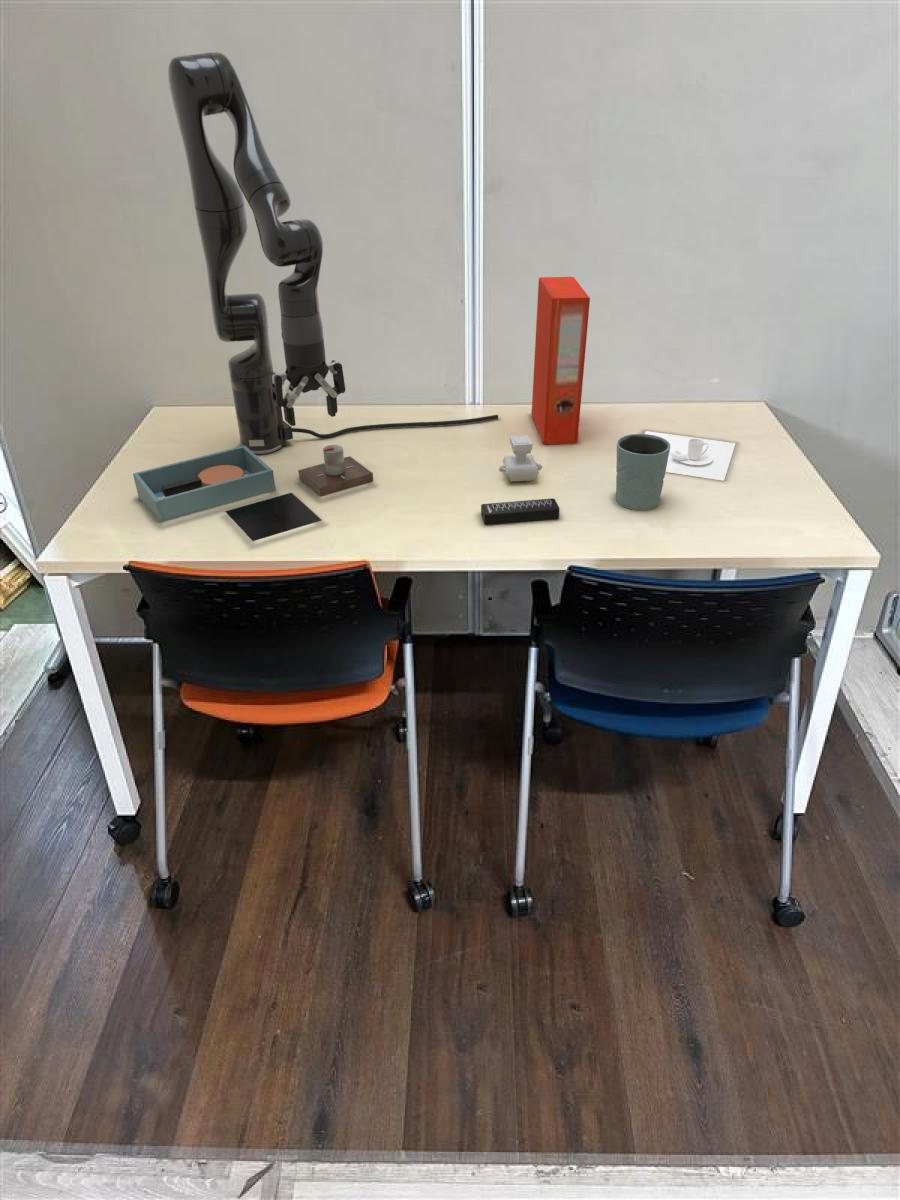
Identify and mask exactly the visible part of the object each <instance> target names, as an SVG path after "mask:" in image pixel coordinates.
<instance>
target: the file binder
mask: <svg viewBox="0 0 900 1200" xmlns="http://www.w3.org/2000/svg"><path fill="white" fill-rule="evenodd" d="M590 302H591V297H590V296H589V294H588V293H587V292H586V291H585V289H584V288H583V287H582V286H581V284H580V283H579V282H578V280H577V279H576V278H575V277H574V276H544V277H543V276H541V277H540V276H539V277H538V287H537V303H536V304H537V305H536V322H535V323H536V324H535V343H534V345H535V346H534V360H533V362H534V363H533V378H532V379H533V380H532V398H531V399H532V400H531V417H532V419H533V422H534V424H535V426H536V429H537V432H538V434H539V436H540V439H541V442H542V444H543V445H569V444H571V445H572V444H578V441H579V430H580V428H579V427H580V420H581V419H580V418H581V407H582V396H583V394H582V393H583V385H584V373H585V372H584V371H585V362H586V361H585V359H586V348H587V339H588V338H587V337H588V326H589V315H590Z"/></svg>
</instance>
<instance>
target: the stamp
mask: <svg viewBox="0 0 900 1200" xmlns="http://www.w3.org/2000/svg"><path fill="white" fill-rule="evenodd" d="M509 443H510V446H511V449H512V453H513V455H504V456H503V458H502V463H503V464H502V465H500V466H499V467H498V472H499V473H502V474H503V473H504V474H505V475H506V476H507V478H508V479H509V480H510V482H526V481H527V482H529V481H530V482H531V481H533V480H534V479H535V478H536V477H537V476H538V475H539V474H540V473H539V472H540V471H541V470H542V469H543V465H542V463H538V462H536V461H535V457H534V455H533V454H531V453H532V450H533V442H532V440H531V438H530V436H529V435H519V436H509Z"/></svg>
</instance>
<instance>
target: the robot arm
mask: <svg viewBox="0 0 900 1200" xmlns="http://www.w3.org/2000/svg"><path fill="white" fill-rule="evenodd" d="M167 77H168V85H169V90H170V97H171V100H172V104H173V109H174V113H175V115H176V120H177V124H178V128H179V132H180V136H181V140H182V144H183V148H184V152H185V157H186V162H187V163H186V164H187V168H188V173H189V179H190V186H191V192H192V198H193V205H194V211H195V217H196V222H197V226H198V227H197V228H198V231H199V236H200V241H201V245H202V251H203V256H204V258H205V259H204V260H205V265H206V273H207V279H208V288H209V296H210V297H209V298H210V304H211V305H210V306H211V313H212V319H213V325H214V329H215V332H216V335H217V337H218V340H220V341H221V342H224V343H235V342H236V343H237V342H254V343H253V344H251V346H249V347H248V348H247V349H245V350H243V351H241V352H239V353H237V354H235V355H233V356H232V357H230V358H229V360H228V364H227V365H228V366H227V367H228V373H229V378H230V385H231V392H232V398H233V403H234V409H235V410H234V411H235V415H236V421H237V429H238V433H239V441H240V447H241V446H246V447H247V448H248V449H250V450H251V451H252V452H253V453H254V454H255V455H265V454H270V453H274V452H277V451H278V450H280V449H281V448H282V447H286V446H287V441H290V440H294V436H293V433H301V434H308V435H312V436H313V437H315V438H318V439H331V438H335V437H337V436H341V435H343V434H345V433H346V434H347V433H351V432H356V431H364V430H375V429H376V430H377V429H389V428H408V427H409V428H410V427H433V426H434V427H435V426H451V425H462V424H463V425H464V424H472V423H480V422H485V421H490V420H491V421H492V420H496V419H499V415H498V414H492V415H487V416H481V417H472V418H467V419H454V420H440V421H438V420H437V421H416V422H415V421H414V422H393V423H380V424H379V423H378V424H367V425H358V426H351V427H346V428H342V429H339V430H337V431H334V432H330V433H318V432H316V431H314V430H311V429H309V428H308V429H307V428H298V427H295V426H296V415H295V408H294V404H295V403H296V400H297V399H299V397H300V395H301V394H302V393H303V394H305V393H306V394H307V393H308V392H310V391H318V390H319V389H322V390H323V391H324V393H325V394H327V395H326V396H325V398H326V409H327V411H326V412H327V414H328V416H330V417H331V418H333V417H336V416H337V415H336V414H337V413H338V396H339V395H340V394H345V392H346V384H345V376H344V370H343V369H344V368H343V364H342V363H340V362H339V361H337V360H336V359H333V360H331V362H329V363H327V362H326V349H325V339H324V337H325V336H324V330H323V329H324V327H323V321H322V317H321V311H320V303H319V292H318V291H319V290H318V289H319V288H318V287H319V280H320V274H321V267H322V260H323V254H324V253H323V252H324V242H323V241H324V240H323V236H322V233H321V231H320V229H319V227H318V226H317V224H316V223H315V222H314V221H313V220H311V219H309V218H298V219H294V220H287V221H282V222H281V221H280V219H279V218H281V217H282V216H284V215H285V214H286V213H287V212H288V211H289V209H290V207H291V205H292V204H291V203H292V200H291V196H290V193H289V192H288V190H287V188H286V186H285V184H284V182H283V180H282V179H281V177H280V175H279V172H278V171H277V169H276V168H275V165H274V164H273V162H272V159H271V158H270V155H269V154H268V151H267V149H266V147H265V144H264V142H263V139H262V136H261V134H260V131H259V128H258V126H257V123H256V120H255V117H254V114H253V111H252V109H251V106H250V104H249V101H248V99H247V95H246V93H245V91H244V88H243V85H242V83H241V80H240V78H239V76H238V73H237V71H236V68H235V67H234V65H233V63H232V62H231V61H230V59H229V58H228V57H227V56H226V55H225V54H224V53H222V52H218V51H212V52H211V51H210V52H202V53H193V54H186V55H179V56H175V57H173V58H171V59H170V60H169V63H168V69H167ZM218 114H226V115H227V117H228V118H229V120H230V122H231V124H232V126H233V130H234V150H233V172H234V176H235V177H234V176H233V175H232V174H231V172H230V171H229V170H228V169H227V167H226V166H225V164H223V162H222V161H221V160H220V158H219V157H218V155H216V153H215V151H214V150H213V147H212V146H211V144H210V141H209V139H208V136H207V132H206V129H205V124H204V117H209V116H213V115H218ZM244 198H245V200H246V201H247V204H248V206H249V207H250V209H251V211H252V213H253V217H254V221H255V223H256V228H257V232H258V237H259V241H260V247H261V249H262V252H263V255H264V257H266V259H267V260H268V261H269V262H270V263H271V264H272V265H273V266H276V267H279V268H285V267H289V266H290V267H291V266H294V265H295V266H294V269H293V271H292V273H291V274H290V275H288V276H287V277H284V278H283V279H281V280H280V281H279V283H278V285H277V292H278V293H277V294H278V300H279V308H280V328H281V334H280V335H281V338H282V345H283V352H284V362H285V367H286V368H285V371H284V372H281V373H277V372H275V371H274V367H273V359H272V354H271V352H272V351H271V345H270V335H269V320H268V312H267V311H268V310H267V305H266V302H265V299H264V297H263V296H262V295H261V294H259V293H239V294H227V293H226V289H227V282H228V278H229V276H230V273H231V271H232V267H233V264H234V262H235V260H236V258H237V256H238V253H239V252H240V250H241V248H242V246H243V243H244V241H245V239H246V235H247V232H248V221H247V214H246V206H245V200H244ZM329 372H330V374H331V375H332V380H333V386H331V385H330V384H329V382H328V381H327V380H326V377H327V376H328V374H329ZM286 380H287V381H288V384H287V387H286V389H285V394H284V393H283V392H284V391H283V386H284V385H285V383H286V382H285V381H286ZM283 416H284V417H283Z"/></svg>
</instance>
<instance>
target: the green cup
mask: <svg viewBox="0 0 900 1200" xmlns="http://www.w3.org/2000/svg"><path fill="white" fill-rule="evenodd" d="M669 452H670V443H669V442H668V441H667V440H665V439H663V438H661V437H658V436H654V435H649V434H645V433H633V434H627V435H624V436H621V437H620V438H619V439H617V442H616V477H615V478H616V481H615V502H616V503H617V504H618V505H619V506H620V507H623V508H625V509H629V510H631V511H649V510H653V509H655V508H656V507H658V506H659V504H660V502H661V496H662V492H663V487H664V482H665V481H664V480H665V477H666V473H667V472H666V467H667V462H668V457H669Z"/></svg>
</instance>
